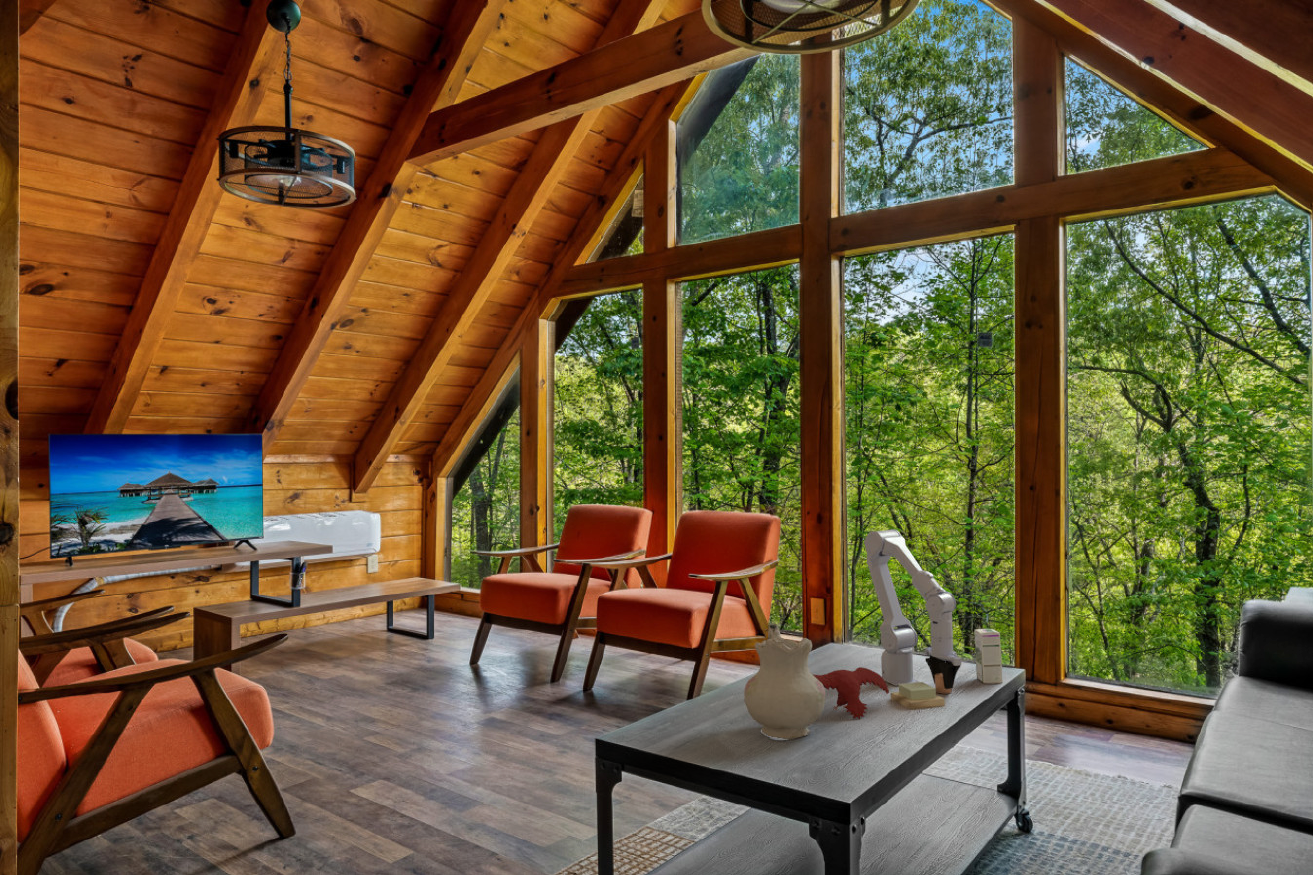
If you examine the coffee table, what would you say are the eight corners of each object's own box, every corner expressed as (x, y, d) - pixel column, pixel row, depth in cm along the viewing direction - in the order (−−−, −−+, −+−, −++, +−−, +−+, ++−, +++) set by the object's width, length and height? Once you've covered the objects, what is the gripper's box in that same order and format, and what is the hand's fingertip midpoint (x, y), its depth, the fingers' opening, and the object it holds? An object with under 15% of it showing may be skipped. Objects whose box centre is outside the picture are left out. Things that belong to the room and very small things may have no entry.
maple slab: (890, 701, 233) (890, 692, 233) (923, 698, 235) (923, 688, 236) (911, 712, 223) (910, 702, 223) (944, 708, 226) (944, 698, 226)
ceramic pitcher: (731, 727, 216) (721, 628, 215) (799, 711, 222) (790, 615, 222) (770, 754, 195) (759, 645, 195) (844, 736, 202) (834, 630, 202)
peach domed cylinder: (932, 690, 240) (931, 673, 240) (945, 688, 241) (945, 672, 241) (941, 694, 236) (940, 677, 236) (955, 692, 237) (954, 676, 237)
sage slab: (898, 693, 232) (898, 684, 232) (922, 691, 233) (922, 682, 233) (911, 700, 225) (911, 690, 225) (936, 698, 226) (935, 688, 226)
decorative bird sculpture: (896, 724, 225) (872, 673, 235) (912, 706, 219) (886, 655, 229) (801, 738, 215) (780, 684, 225) (814, 720, 209) (792, 666, 219)
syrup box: (1003, 683, 246) (1001, 632, 247) (982, 683, 246) (980, 632, 247) (995, 678, 252) (993, 628, 252) (975, 678, 252) (973, 628, 252)
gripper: (970, 640, 233) (972, 691, 232) (939, 630, 247) (940, 678, 246) (947, 642, 231) (949, 693, 231) (917, 632, 245) (919, 680, 244)
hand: (943, 686), depth 238 cm, fingers closed on peach domed cylinder, 4 cm apart
